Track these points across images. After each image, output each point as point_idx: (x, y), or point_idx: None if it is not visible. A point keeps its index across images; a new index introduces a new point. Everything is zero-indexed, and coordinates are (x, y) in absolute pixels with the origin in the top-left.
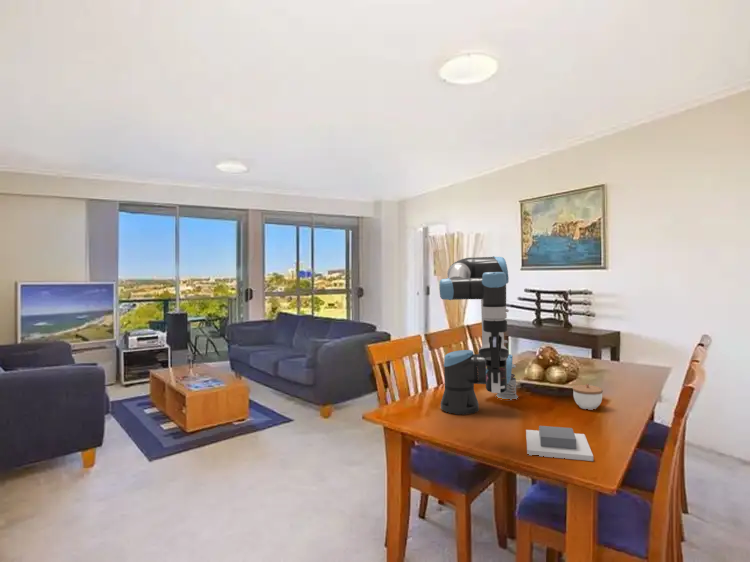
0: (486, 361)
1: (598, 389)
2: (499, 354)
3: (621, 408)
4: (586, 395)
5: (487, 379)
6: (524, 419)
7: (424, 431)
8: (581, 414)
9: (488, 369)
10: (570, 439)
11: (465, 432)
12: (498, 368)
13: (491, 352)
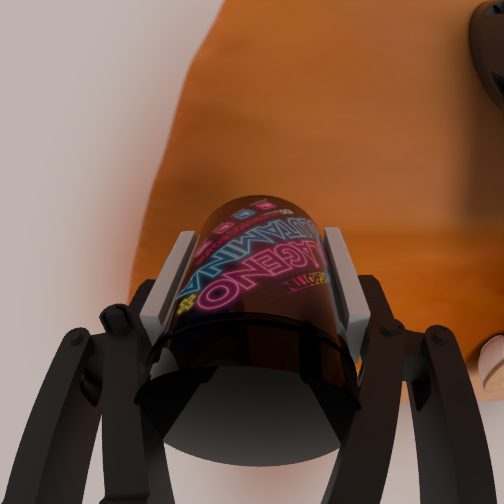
0: (170, 354)
1: (493, 389)
2: (333, 469)
3: (473, 381)
4: (488, 370)
5: (202, 243)
6: (450, 237)
7: None
8: (463, 340)
9: (172, 308)
10: None
11: (310, 59)
12: (81, 385)
13: (17, 465)
